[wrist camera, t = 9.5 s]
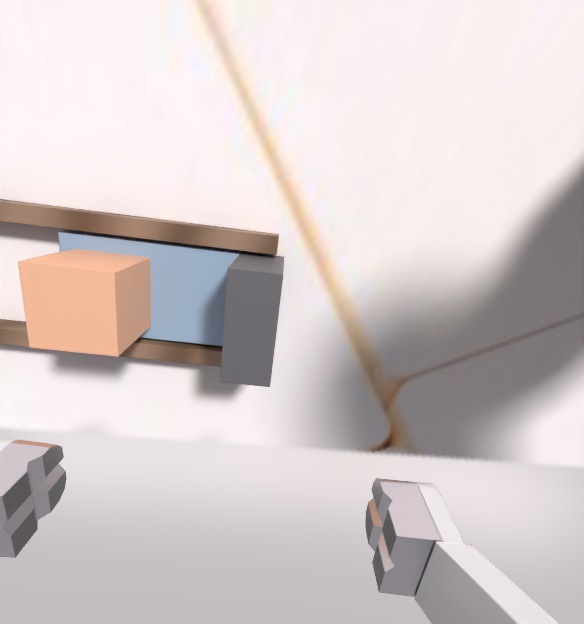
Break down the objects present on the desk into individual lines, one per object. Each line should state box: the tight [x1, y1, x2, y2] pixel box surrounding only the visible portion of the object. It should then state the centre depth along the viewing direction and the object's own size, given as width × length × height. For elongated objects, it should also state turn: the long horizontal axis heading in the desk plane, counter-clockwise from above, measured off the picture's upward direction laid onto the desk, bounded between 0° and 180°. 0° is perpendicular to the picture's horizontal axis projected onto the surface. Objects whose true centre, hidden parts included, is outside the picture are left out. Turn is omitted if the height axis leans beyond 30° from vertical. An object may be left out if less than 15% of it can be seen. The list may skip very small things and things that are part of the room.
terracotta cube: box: [18, 249, 151, 357], centre depth 21 cm, size 5×5×5 cm
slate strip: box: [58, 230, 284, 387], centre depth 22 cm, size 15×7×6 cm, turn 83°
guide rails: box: [0, 199, 279, 367], centre depth 24 cm, size 24×10×2 cm, turn 83°
